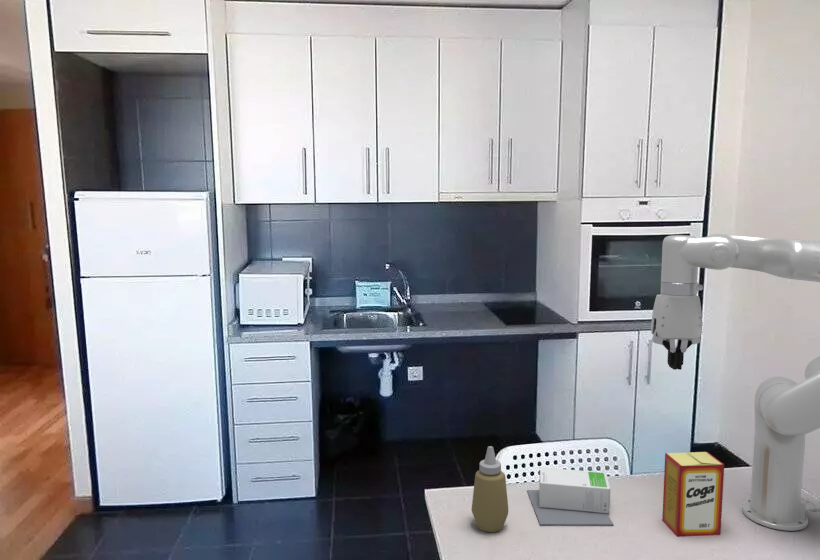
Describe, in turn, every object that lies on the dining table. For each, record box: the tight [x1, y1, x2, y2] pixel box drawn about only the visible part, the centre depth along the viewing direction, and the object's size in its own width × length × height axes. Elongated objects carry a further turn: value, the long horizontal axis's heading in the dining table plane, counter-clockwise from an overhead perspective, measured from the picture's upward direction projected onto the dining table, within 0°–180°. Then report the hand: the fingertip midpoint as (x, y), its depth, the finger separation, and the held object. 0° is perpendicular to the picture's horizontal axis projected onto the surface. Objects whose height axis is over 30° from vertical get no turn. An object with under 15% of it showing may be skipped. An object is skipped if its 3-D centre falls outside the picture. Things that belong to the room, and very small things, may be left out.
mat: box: [526, 489, 615, 527], centre depth 138 cm, size 16×16×1 cm
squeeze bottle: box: [471, 445, 509, 533], centre depth 129 cm, size 8×8×18 cm
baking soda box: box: [661, 451, 725, 538], centre depth 128 cm, size 10×6×16 cm
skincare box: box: [538, 466, 611, 515], centre depth 139 cm, size 8×7×16 cm
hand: (675, 367), depth 138 cm, fingers closed
